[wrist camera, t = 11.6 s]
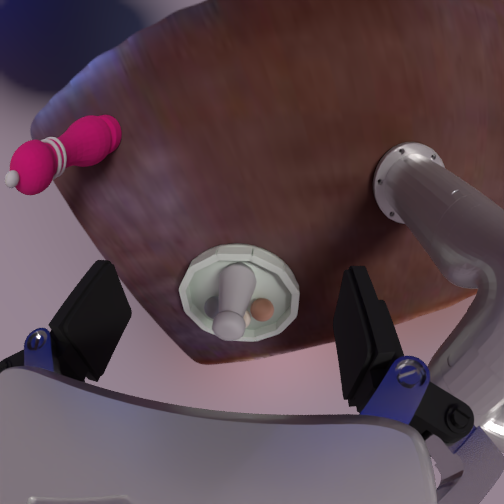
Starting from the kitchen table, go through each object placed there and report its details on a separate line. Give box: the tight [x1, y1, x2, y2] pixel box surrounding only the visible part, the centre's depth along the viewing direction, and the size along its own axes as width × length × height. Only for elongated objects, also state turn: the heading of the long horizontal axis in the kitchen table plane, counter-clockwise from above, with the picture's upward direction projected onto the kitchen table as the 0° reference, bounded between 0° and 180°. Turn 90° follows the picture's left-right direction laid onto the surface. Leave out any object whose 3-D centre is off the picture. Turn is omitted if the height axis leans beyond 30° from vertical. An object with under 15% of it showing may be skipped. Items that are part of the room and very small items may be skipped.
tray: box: [179, 243, 300, 342], centre depth 47 cm, size 20×20×3 cm
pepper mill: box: [5, 115, 121, 195], centre depth 26 cm, size 7×7×20 cm
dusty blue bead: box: [204, 296, 219, 319], centre depth 47 cm, size 4×4×4 cm
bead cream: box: [243, 310, 251, 327], centre depth 48 cm, size 4×4×4 cm
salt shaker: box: [212, 262, 257, 341], centre depth 39 cm, size 6×6×13 cm
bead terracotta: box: [250, 298, 274, 322], centre depth 46 cm, size 4×4×4 cm
